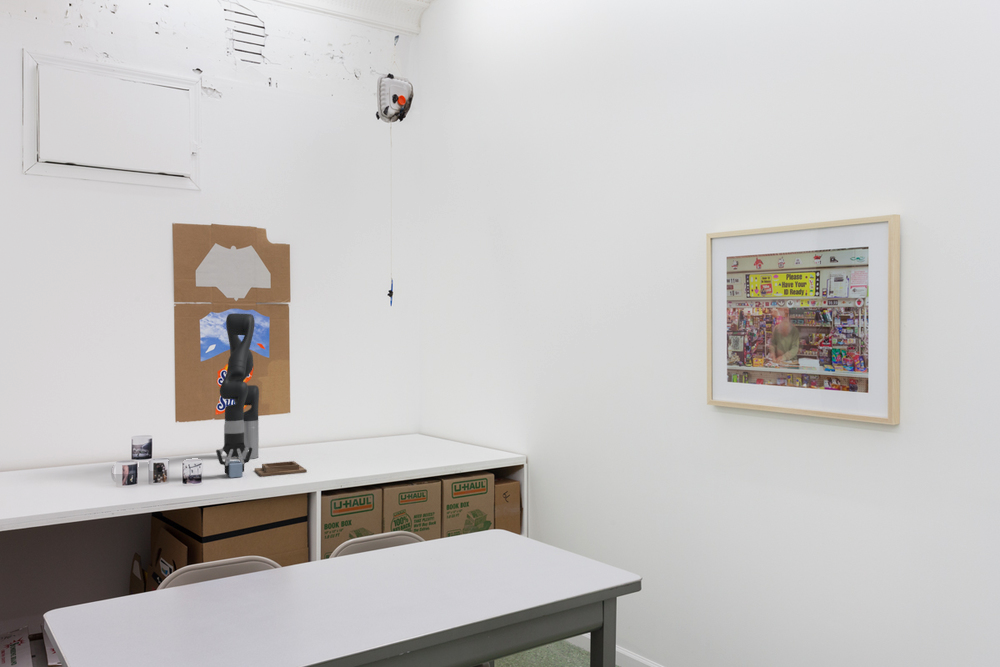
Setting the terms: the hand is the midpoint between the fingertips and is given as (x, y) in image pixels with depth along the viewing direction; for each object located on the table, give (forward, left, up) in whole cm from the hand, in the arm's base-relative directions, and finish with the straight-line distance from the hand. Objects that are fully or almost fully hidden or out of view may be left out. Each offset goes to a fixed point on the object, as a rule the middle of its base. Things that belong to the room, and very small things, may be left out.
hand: (234, 473), depth 281 cm
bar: (0, 0, -1) cm, 1 cm away
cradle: (0, +18, -1) cm, 18 cm away
